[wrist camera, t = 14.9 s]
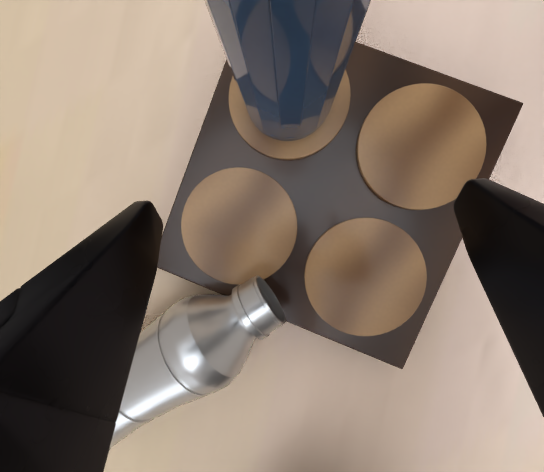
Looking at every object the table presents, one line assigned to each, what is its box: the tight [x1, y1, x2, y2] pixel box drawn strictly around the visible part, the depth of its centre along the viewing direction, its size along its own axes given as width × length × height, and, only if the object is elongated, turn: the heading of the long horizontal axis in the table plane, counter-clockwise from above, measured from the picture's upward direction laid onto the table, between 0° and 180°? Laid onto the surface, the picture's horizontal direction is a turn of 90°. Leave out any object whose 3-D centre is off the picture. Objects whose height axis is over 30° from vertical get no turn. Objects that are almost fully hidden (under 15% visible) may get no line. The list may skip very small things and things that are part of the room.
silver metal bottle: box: [109, 275, 286, 450], centre depth 18 cm, size 6×7×20 cm
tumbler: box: [204, 0, 371, 141], centre depth 12 cm, size 6×6×12 cm
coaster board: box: [157, 42, 523, 369], centre depth 19 cm, size 20×20×2 cm
